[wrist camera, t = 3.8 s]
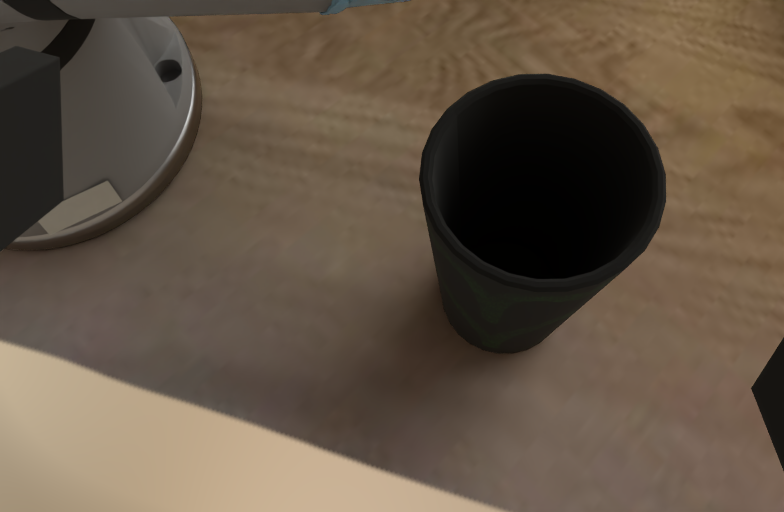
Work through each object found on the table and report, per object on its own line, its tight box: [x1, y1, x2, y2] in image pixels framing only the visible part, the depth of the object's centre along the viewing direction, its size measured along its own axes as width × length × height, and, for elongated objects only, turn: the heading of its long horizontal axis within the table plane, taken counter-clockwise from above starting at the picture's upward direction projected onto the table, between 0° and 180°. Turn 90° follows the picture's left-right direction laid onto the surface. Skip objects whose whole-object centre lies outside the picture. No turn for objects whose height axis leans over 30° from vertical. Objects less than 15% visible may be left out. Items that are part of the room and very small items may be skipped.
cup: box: [419, 74, 666, 353], centre depth 29 cm, size 8×8×12 cm
